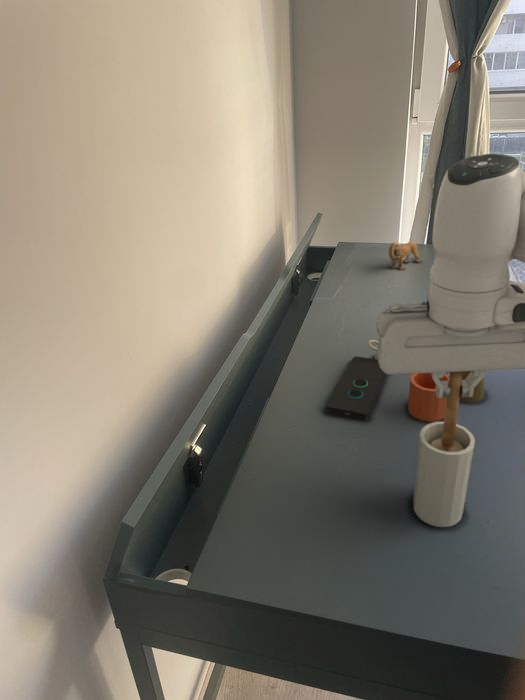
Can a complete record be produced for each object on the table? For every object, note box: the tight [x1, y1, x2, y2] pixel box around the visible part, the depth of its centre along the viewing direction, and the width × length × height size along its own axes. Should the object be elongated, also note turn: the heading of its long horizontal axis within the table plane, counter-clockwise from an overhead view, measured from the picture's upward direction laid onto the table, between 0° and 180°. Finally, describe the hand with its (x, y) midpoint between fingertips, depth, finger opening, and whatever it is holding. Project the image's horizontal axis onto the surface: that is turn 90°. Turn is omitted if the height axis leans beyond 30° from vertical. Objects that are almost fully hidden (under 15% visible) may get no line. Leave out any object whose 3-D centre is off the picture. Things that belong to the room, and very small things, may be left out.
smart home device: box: [327, 355, 387, 421], centre depth 109 cm, size 8×2×20 cm
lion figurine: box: [388, 241, 420, 270], centre depth 164 cm, size 15×5×9 cm, turn 135°
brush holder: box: [407, 372, 449, 423], centre depth 100 cm, size 7×7×7 cm
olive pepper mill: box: [459, 371, 485, 403], centre depth 103 cm, size 6×6×11 cm
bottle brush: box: [431, 371, 463, 452], centre depth 73 cm, size 4×4×22 cm
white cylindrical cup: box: [412, 420, 476, 528], centre depth 77 cm, size 7×7×14 cm
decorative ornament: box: [367, 339, 379, 360], centre depth 117 cm, size 4×8×5 cm, turn 75°
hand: (453, 395), depth 70 cm, fingers closed on bottle brush
